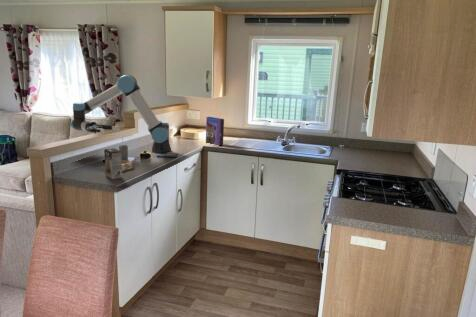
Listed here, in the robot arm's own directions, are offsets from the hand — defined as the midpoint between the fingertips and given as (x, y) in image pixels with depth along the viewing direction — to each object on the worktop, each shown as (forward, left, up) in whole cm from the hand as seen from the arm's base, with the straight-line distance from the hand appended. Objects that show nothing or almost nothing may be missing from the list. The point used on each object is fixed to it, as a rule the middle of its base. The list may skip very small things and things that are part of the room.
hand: (111, 130), depth 233 cm
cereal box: (-94, +27, -22) cm, 100 cm away
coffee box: (+26, +27, -22) cm, 43 cm away
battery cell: (0, +10, -22) cm, 24 cm away
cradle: (+11, +18, -22) cm, 30 cm away
